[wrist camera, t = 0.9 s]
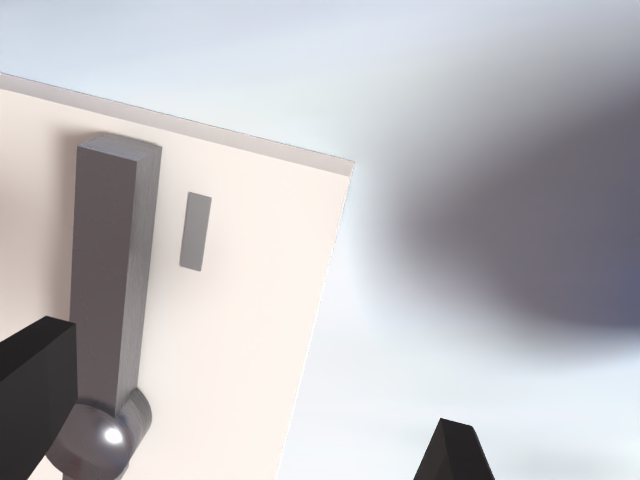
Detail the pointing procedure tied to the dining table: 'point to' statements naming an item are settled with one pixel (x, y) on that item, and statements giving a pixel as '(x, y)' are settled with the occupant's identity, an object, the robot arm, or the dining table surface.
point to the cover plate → (182, 271)
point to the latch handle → (109, 305)
